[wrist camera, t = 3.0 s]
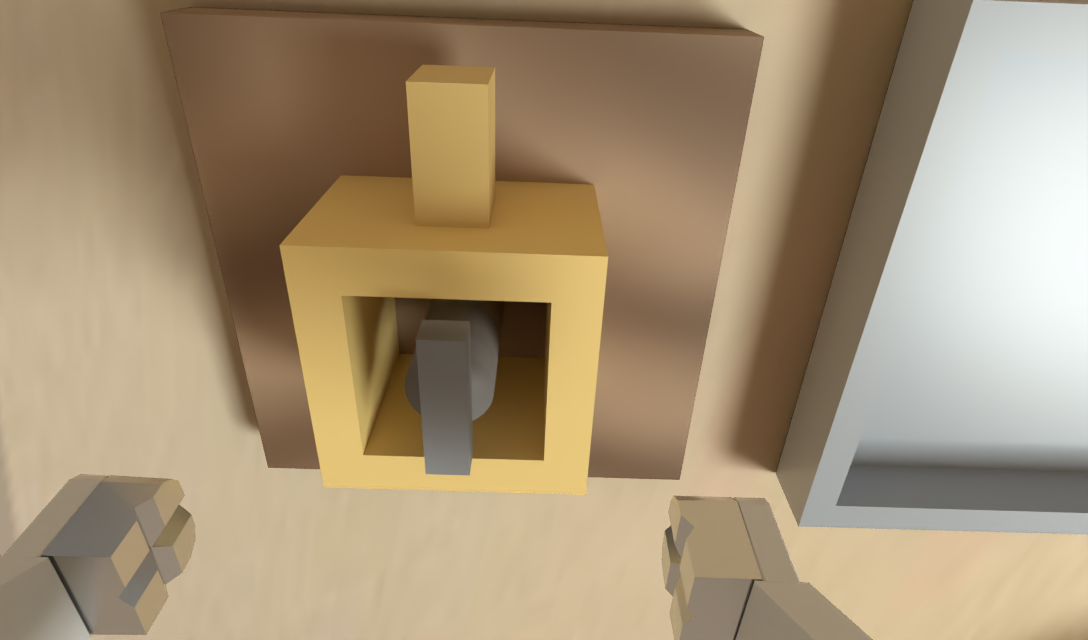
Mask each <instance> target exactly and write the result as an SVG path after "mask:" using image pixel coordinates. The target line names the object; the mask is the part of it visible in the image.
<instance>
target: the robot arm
mask: <svg viewBox="0 0 1088 640" xmlns="http://www.w3.org/2000/svg"><path fill="white" fill-rule="evenodd" d="M184 496H185V495H184V492H183V490H182V488H181V485H180V483H179V481H177V480H173V479H163V478H147V477H130V476H113V475H111V476H105V475H88V474H80V475H78V476H76V477H74V478H72V479H70V480H69V481H68V482H67V483H66V484H65V485H64V487H63V488H62V489H61V490H60V491H59V492H58V493H57V495H56V496H55V497H54V498H53V499H52V500H51V501H50V503H49V504H48V505H47V506H46V507H45V508H44V509H43V510H42V512H41V513H40V514H39V515H38V516H37V517H36V518H35V520H34V521H33V522H32V523H31V524H30V525H29V526H28V528H27V529H26V530H25V531H24V532H23V533H22V534H21V535H20V537H19V538H18V539H17V540H16V541H15V542H14V543H13V545H12V546H11V547H10V548H9V549H8V550H7V551H6V553H5V554H4V555H0V640H89V639H90V638H91V635H90V634H96V635H147V633H148V631H149V630H150V628H151V626H152V624H153V623H154V621H155V619H156V617H157V616H158V614H159V612H160V611H161V609H162V607H163V605H164V604H165V602H166V600H167V598H168V592H167V588H166V584H167V583H168V582H170V581H171V580H172V579H174V578H175V577H177V576H178V575H179V574H181V573H182V572H183V570H184V569H185V567H186V565H187V563H188V561H189V559H190V557H191V554H192V550H193V546H194V542H195V524H194V521H193V518H192V515H191V514H190V513H189V512H188V511H186V510H185V509H184V508H182V507H181V506H180V505H179V504H180V502H181V500H182V499H183V497H184ZM669 517H670V522H671V526H670V527H669V528H668V529H666V530H665V533H664V539H663V548H662V566H663V576H664V583H665V589H666V590H667V591H668V592H669V593H670V594H671V595H672V596H673V600H672V605H671V609H670V618H671V623H672V629H673V634H674V640H873V639H872V638H870V637H869V636H868V635H867V634H866V633H865V632H864V631H863V630H861V629H860V628H859V627H858V626H857V625H856V624H855V623H853V622H852V621H851V620H850V619H849V618H848V617H847V616H846V615H844V614H843V613H842V612H841V611H840V610H839V609H838V608H837V607H835V606H834V605H833V604H832V603H831V602H830V601H829V600H828V599H826V598H825V597H824V596H823V595H822V594H821V593H820V592H819V591H817V590H816V589H815V588H814V587H813V586H812V585H811V584H810V583H805V582H799V580H798V577H797V575H796V572H795V570H794V567H793V564H792V562H791V559H790V557H789V554H788V551H787V549H786V546H785V544H784V541H783V538H782V536H781V533H780V531H779V528H778V525H777V523H776V520H775V518H774V515H773V512H772V510H771V507H770V505H769V503H768V502H767V501H766V500H765V499H764V498H737V497H734V498H731V497H700V496H673V498H672V500H671V503H670V508H669Z"/></svg>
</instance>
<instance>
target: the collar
mask: <svg viewBox="0 0 1088 640" xmlns="http://www.w3.org/2000/svg"><path fill="white" fill-rule="evenodd" d="M406 94H407V109H408V124H409V138H410V153H411V168H412V178H401V177H374V176H346V175H341V176H340V177H339V178H338V179H337V180H336V181H335V183H334V184H333V185H332V186H331V187H330V188H329V189H328V191H327V192H326V193H325V194H324V195H323V196H322V197H321V199H320V200H319V201H318V202H317V203H316V204H315V205H314V207H313V208H312V209H311V210H310V211H309V212H308V213H307V214H306V216H305V217H304V218H303V219H302V220H301V221H300V222H299V224H298V225H297V226H296V227H295V228H294V229H293V230H292V232H291V233H290V234H289V235H288V236H287V237H286V238H285V239H284V241H283V242H282V243H281V244H280V245H279V246H280V251H281V257H282V262H283V268H284V273H285V279H286V284H287V289H288V295H289V300H290V306H291V311H292V317H293V322H294V328H295V333H296V338H297V344H298V349H299V355H300V360H301V366H302V371H303V377H304V382H305V388H306V393H307V398H308V404H309V409H310V415H311V420H312V426H313V431H314V437H315V442H316V447H317V453H318V458H319V464H320V469H321V475H322V480H323V486H324V487H338V488H372V489H407V490H441V491H475V492H510V493H544V494H578V495H586V488H587V477H588V467H589V456H590V445H591V435H592V424H593V414H594V403H595V392H596V382H597V371H598V361H599V350H600V339H601V329H602V318H603V308H604V297H605V286H606V276H607V265H608V253H607V247H606V242H605V237H604V232H603V227H602V222H601V217H600V212H599V206H598V201H597V196H596V191H595V186H594V184H567V183H539V182H511V181H495V67H473V66H448V65H422V66H421V67H420V68H419V69H418V70H417V71H416V72H415V73H414V74H413V75H412V76H411V77H410V78H409V79H408V80H407V81H406ZM394 297H398V298H428V299H458V300H487V301H517V302H547V313H546V336H545V358H518V357H498V363H497V371H496V380H495V388H494V396H493V400H492V403H491V405H490V407H489V408H488V409H487V411H486V412H485V413H484V414H483V415H481V416H480V417H479V418H477V419H475V420H473V421H472V425H473V456H472V463H471V470H470V476H469V475H435V474H426V472H425V459H424V446H423V432H422V419H421V414H419V413H418V412H417V411H416V410H415V409H414V408H413V407H412V406H411V404H410V403H409V401H408V399H407V397H406V394H405V378H406V375H407V372H408V369H409V366H410V363H411V360H412V356H413V354H399V344H398V333H397V322H396V311H395V300H394Z"/></svg>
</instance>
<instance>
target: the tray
mask: <svg viewBox="0 0 1088 640" xmlns="http://www.w3.org/2000/svg"><path fill="white" fill-rule="evenodd" d="M776 475H777V477H778V480H779V482H780V484H781V487H782V489H783V491H784V494H785V496H786V498H787V501H788V503H789V505H790V508H791V510H792V512H793V515H794V517H795V519H796V522H797V524H798V526H805V527H840V528H875V529H910V530H945V531H980V532H1015V533H1050V534H1085V535H1088V0H913V4H912V7H911V11H910V14H909V18H908V21H907V25H906V28H905V31H904V35H903V38H902V42H901V45H900V49H899V52H898V56H897V59H896V62H895V66H894V69H893V73H892V76H891V80H890V83H889V87H888V90H887V93H886V97H885V100H884V104H883V107H882V111H881V114H880V118H879V121H878V124H877V128H876V131H875V135H874V138H873V142H872V145H871V148H870V152H869V155H868V159H867V162H866V166H865V169H864V173H863V176H862V179H861V183H860V186H859V190H858V193H857V197H856V200H855V204H854V207H853V210H852V214H851V217H850V221H849V224H848V228H847V231H846V235H845V238H844V241H843V245H842V248H841V252H840V255H839V259H838V262H837V266H836V269H835V272H834V276H833V279H832V283H831V286H830V290H829V293H828V297H827V300H826V303H825V307H824V310H823V314H822V317H821V321H820V324H819V327H818V331H817V334H816V338H815V341H814V345H813V348H812V352H811V355H810V358H809V362H808V365H807V369H806V372H805V376H804V379H803V383H802V386H801V389H800V393H799V396H798V400H797V403H796V407H795V410H794V414H793V417H792V420H791V424H790V427H789V431H788V434H787V438H786V441H785V445H784V448H783V451H782V455H781V458H780V462H779V465H778V469H777V472H776Z"/></svg>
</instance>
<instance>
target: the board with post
mask: <svg viewBox="0 0 1088 640" xmlns="http://www.w3.org/2000/svg"><path fill="white" fill-rule="evenodd" d="M160 14H161V18H162V22H163V26H164V31H165V35H166V39H167V43H168V47H169V52H170V56H171V60H172V64H173V68H174V73H175V77H176V81H177V85H178V90H179V94H180V98H181V102H182V106H183V111H184V115H185V119H186V123H187V127H188V132H189V136H190V140H191V144H192V148H193V153H194V157H195V161H196V165H197V170H198V174H199V178H200V182H201V186H202V191H203V195H204V199H205V203H206V207H207V212H208V216H209V220H210V224H211V229H212V233H213V237H214V241H215V245H216V250H217V254H218V258H219V262H220V266H221V271H222V275H223V279H224V283H225V288H226V292H227V296H228V300H229V304H230V309H231V313H232V317H233V321H234V325H235V330H236V334H237V338H238V342H239V347H240V351H241V355H242V359H243V363H244V368H245V372H246V376H247V380H248V384H249V389H250V393H251V397H252V401H253V406H254V410H255V414H256V418H257V422H258V427H259V431H260V435H261V439H262V443H263V448H264V452H265V456H266V460H267V465H268V468H299V469H320V464H319V458H318V453H317V447H316V442H315V437H314V431H313V426H312V420H311V415H310V409H309V404H308V398H307V393H306V388H305V382H304V377H303V371H302V366H301V360H300V355H299V349H298V344H297V338H296V333H295V328H294V322H293V317H292V311H291V306H290V300H289V295H288V289H287V284H286V279H285V273H284V268H283V262H282V257H281V251H280V246H279V245H280V244H281V243H282V242H283V241H284V239H285V238H286V237H287V236H288V235H289V234H290V233H291V232H292V230H293V229H294V228H295V227H296V226H297V225H298V224H299V222H300V221H301V220H302V219H303V218H304V217H305V216H306V214H307V213H308V212H309V211H310V210H311V209H312V208H313V207H314V205H315V204H316V203H317V202H318V201H319V200H320V199H321V197H322V196H323V195H324V194H325V193H326V192H327V191H328V189H329V188H330V187H331V186H332V185H333V184H334V183H335V181H336V180H337V179H338V178H339V177H340V176H341V175H346V176H374V177H401V178H412V168H411V153H410V138H409V124H408V109H407V94H406V81H407V80H408V79H409V78H410V77H411V76H412V75H413V74H414V73H415V72H416V71H417V70H418V69H419V68H420V67H421V66H422V65H448V66H473V67H495V181H511V182H539V183H567V184H594V186H595V191H596V196H597V201H598V206H599V212H600V217H601V222H602V227H603V232H604V237H605V242H606V247H607V253H608V265H607V276H606V286H605V297H604V308H603V318H602V329H601V339H600V350H599V361H598V371H597V382H596V392H595V403H594V414H593V424H592V435H591V445H590V456H589V467H588V477H604V478H638V479H672V480H680V475H681V469H682V464H683V459H684V454H685V448H686V443H687V438H688V433H689V427H690V422H691V417H692V412H693V406H694V401H695V396H696V391H697V386H698V380H699V375H700V370H701V365H702V359H703V354H704V349H705V344H706V338H707V333H708V328H709V323H710V318H711V312H712V307H713V302H714V297H715V291H716V286H717V281H718V276H719V270H720V265H721V260H722V255H723V250H724V244H725V239H726V234H727V229H728V223H729V218H730V213H731V208H732V202H733V197H734V192H735V187H736V181H737V176H738V171H739V166H740V161H741V155H742V150H743V145H744V140H745V134H746V129H747V124H748V119H749V113H750V108H751V103H752V98H753V93H754V87H755V82H756V77H757V72H758V66H759V61H760V56H761V51H762V45H763V40H764V37H763V36H761V35H758V34H756V33H754V32H752V31H749V30H747V29H723V28H698V27H673V26H648V25H623V24H598V23H573V22H548V21H523V20H498V19H473V18H448V17H423V16H398V15H373V14H349V13H324V12H299V11H274V10H249V9H224V8H199V7H189V8H184V9H179V10H173V11H168V12H163V13H160ZM394 300H395V311H396V322H397V333H398V344H399V354H413V356H412V360H411V363H410V366H409V369H408V372H407V375H406V378H405V394H406V397H407V399H408V401H409V403H410V404H411V406H412V407H413V408H414V409H415V410H416V411H417V412H418V413H419V414H421V419H422V432H423V446H424V459H425V472H426V474H435V475H469V476H470V470H471V463H472V456H473V425H472V421H473V420H475V419H477V418H479V417H480V416H481V415H483V414H484V413H485V412H486V411H487V409H488V408H489V407H490V405H491V403H492V400H493V396H494V388H495V380H496V371H497V363H498V357H518V358H545V336H546V313H547V302H517V301H487V300H458V299H428V298H398V297H394Z"/></svg>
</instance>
